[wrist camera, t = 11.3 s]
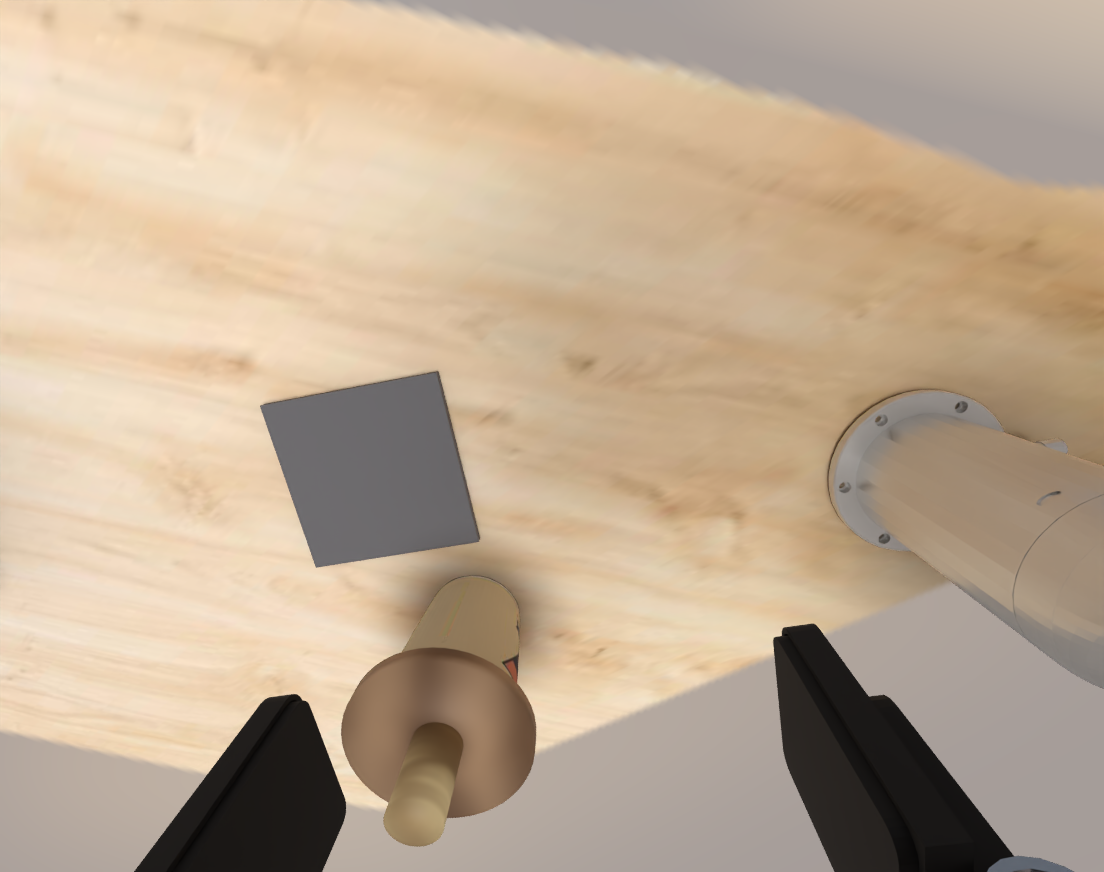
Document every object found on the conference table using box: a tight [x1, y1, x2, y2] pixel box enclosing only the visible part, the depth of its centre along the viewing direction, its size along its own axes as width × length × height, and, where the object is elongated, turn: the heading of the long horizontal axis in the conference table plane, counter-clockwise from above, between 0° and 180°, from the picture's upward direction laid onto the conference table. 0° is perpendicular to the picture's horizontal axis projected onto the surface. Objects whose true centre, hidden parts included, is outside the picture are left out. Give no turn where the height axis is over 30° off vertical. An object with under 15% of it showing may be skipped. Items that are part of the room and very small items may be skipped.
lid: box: [341, 647, 536, 846], centre depth 30 cm, size 12×12×6 cm
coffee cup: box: [402, 576, 520, 683], centre depth 39 cm, size 9×9×12 cm
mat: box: [260, 372, 480, 567], centre depth 41 cm, size 14×14×1 cm
